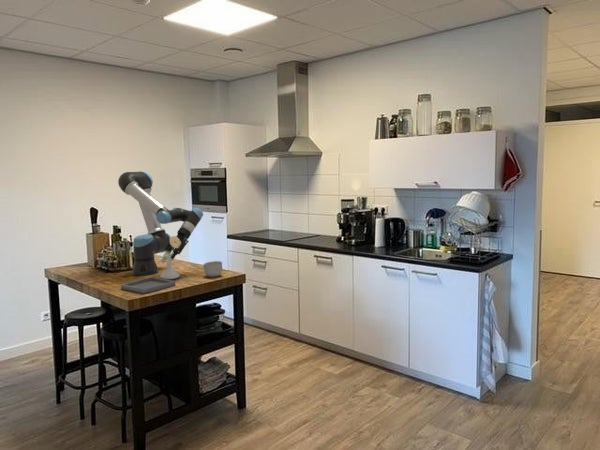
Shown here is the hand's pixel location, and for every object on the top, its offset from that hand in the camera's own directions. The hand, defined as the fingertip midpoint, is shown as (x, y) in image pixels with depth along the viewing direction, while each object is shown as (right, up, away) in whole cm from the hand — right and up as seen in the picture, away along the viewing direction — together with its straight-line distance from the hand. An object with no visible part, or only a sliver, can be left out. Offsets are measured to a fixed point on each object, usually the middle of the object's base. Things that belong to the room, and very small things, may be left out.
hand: (164, 262), depth 264 cm
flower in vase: (+2, -10, +4) cm, 11 cm away
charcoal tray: (-4, -12, -15) cm, 20 cm away
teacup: (+27, -9, +10) cm, 30 cm away
